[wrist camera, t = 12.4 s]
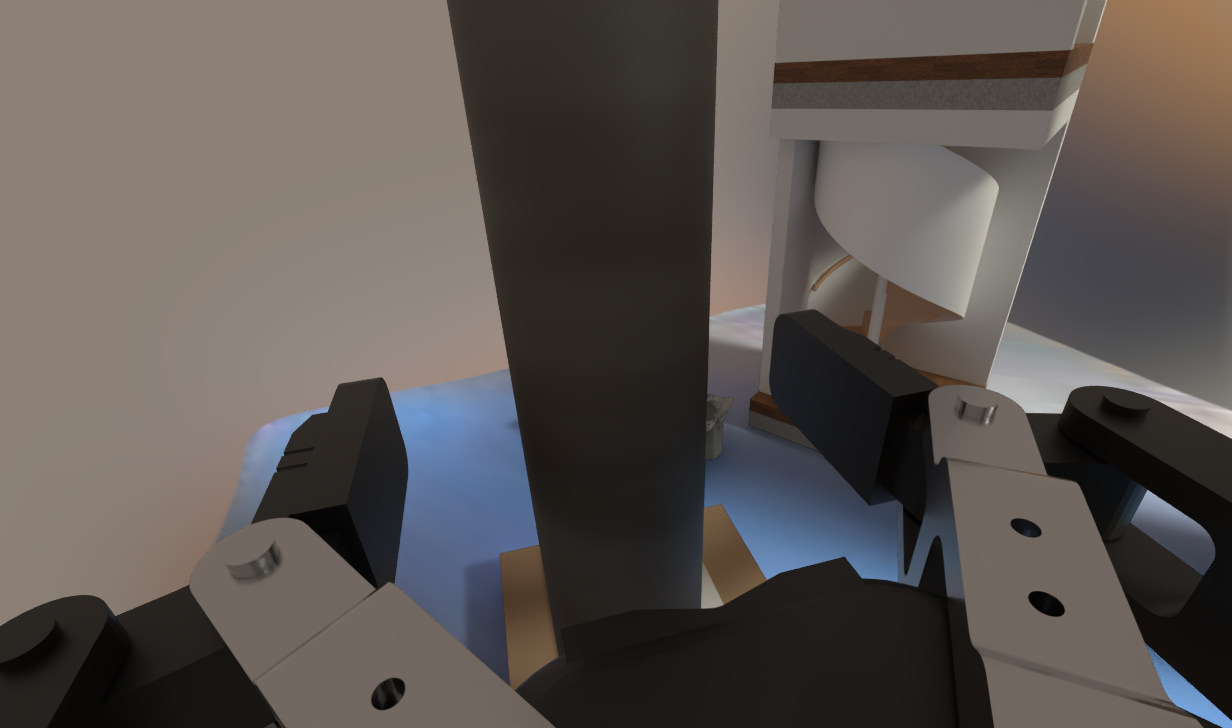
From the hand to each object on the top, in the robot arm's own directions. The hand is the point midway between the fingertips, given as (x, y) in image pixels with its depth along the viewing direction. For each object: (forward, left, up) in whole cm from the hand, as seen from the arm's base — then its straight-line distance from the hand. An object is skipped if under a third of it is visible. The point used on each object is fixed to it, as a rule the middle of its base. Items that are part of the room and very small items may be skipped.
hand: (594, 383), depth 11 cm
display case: (-26, +6, -16) cm, 31 cm away
